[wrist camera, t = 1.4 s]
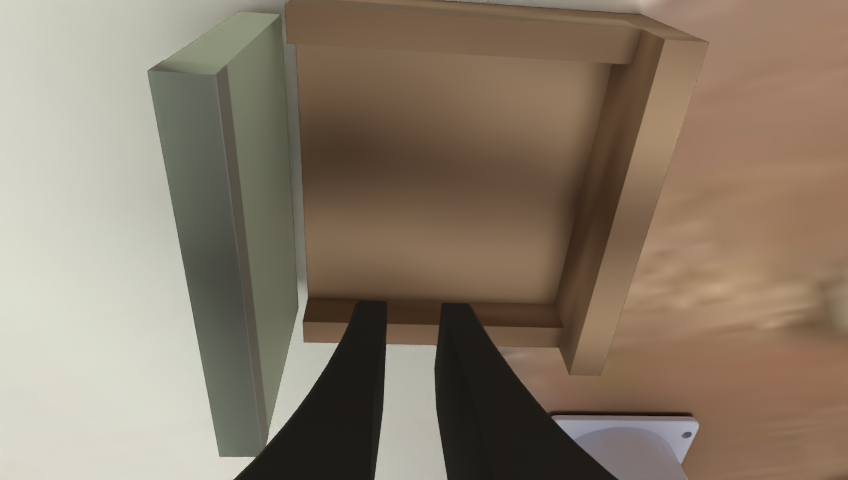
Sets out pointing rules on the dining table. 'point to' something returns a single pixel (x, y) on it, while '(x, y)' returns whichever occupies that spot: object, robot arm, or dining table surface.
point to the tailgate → (233, 214)
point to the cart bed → (483, 164)
